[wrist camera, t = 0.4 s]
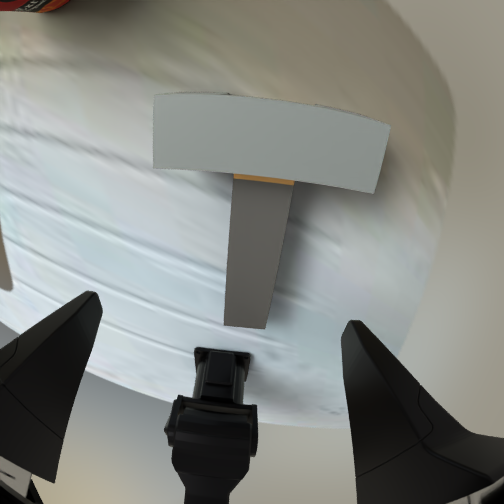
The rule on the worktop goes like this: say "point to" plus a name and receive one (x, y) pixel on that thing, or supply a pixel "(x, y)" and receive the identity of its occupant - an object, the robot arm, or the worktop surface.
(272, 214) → the plug
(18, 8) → the canned food
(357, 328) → the robot arm
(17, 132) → the worktop surface
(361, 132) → the housing
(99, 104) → the worktop surface
